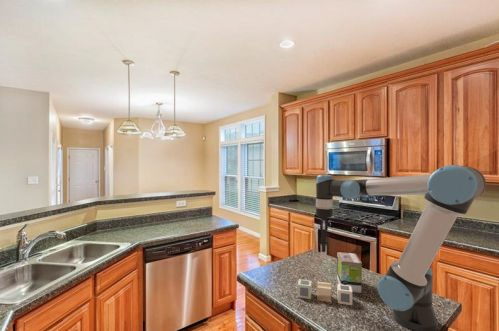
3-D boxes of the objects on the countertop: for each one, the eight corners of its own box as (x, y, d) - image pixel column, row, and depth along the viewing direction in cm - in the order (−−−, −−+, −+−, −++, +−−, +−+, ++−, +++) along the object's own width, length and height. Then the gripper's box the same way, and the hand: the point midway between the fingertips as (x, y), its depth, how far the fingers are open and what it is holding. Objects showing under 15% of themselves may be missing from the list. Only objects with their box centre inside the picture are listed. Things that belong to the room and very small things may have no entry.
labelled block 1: (310, 299, 117) (310, 286, 117) (297, 297, 118) (297, 284, 118) (311, 293, 122) (311, 280, 123) (298, 291, 124) (299, 278, 124)
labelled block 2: (352, 305, 111) (352, 291, 111) (337, 303, 113) (338, 289, 113) (351, 298, 117) (351, 285, 117) (337, 296, 119) (337, 283, 119)
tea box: (362, 293, 123) (362, 262, 123) (340, 291, 125) (340, 261, 125) (355, 280, 137) (355, 252, 137) (336, 278, 139) (336, 251, 139)
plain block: (331, 302, 114) (331, 289, 114) (317, 300, 116) (317, 287, 116) (330, 296, 120) (330, 283, 120) (317, 294, 122) (317, 281, 122)
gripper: (332, 210, 111) (332, 264, 111) (332, 206, 124) (331, 254, 124) (315, 209, 113) (314, 262, 113) (316, 205, 126) (315, 252, 126)
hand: (323, 257), depth 119 cm, fingers closed
